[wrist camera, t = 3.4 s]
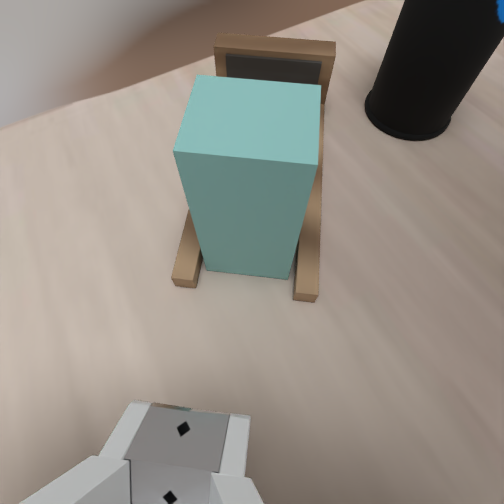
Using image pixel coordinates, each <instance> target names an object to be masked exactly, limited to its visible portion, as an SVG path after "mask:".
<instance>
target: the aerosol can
mask: <svg viewBox="0 0 504 504" xmlns="http://www.w3.org/2000/svg"><path fill="white" fill-rule="evenodd" d="M503 37H504V0H405V1H404V4H403V7H402V10H401V12H400V15H399V18H398V20H397V23H396V26H395V29H394V31H393V34H392V37H391V40H390V42H389V45H388V48H387V50H386V53H385V56H384V59H383V61H382V64H381V67H380V69H379V72H378V75H377V78H376V80H375V83H374V86H373V89H372V90H371V91H370V92H369V94H368V95H367V97H366V100H365V109H366V113H367V115H368V117H369V119H370V120H371V121H372V122H373V123H374V124H375V125H376V126H377V127H378V128H379V129H381V130H382V131H384V132H386V133H388V134H390V135H392V136H395V137H398V138H402V139H407V140H425V139H430V138H433V137H436V136H438V135H439V134H441V133H442V132H444V131H445V129H446V128H447V127H448V125H449V123H450V121H451V116H452V114H453V113H454V111H455V110H456V108H457V107H458V105H459V104H460V102H461V101H462V99H463V98H464V96H465V95H466V93H467V92H468V90H469V89H470V87H471V85H472V84H473V82H474V81H475V79H476V78H477V76H478V75H479V73H480V72H481V70H482V69H483V67H484V66H485V64H486V63H487V61H488V60H489V58H490V57H491V55H492V54H493V52H494V51H495V49H496V47H497V46H498V44H499V43H500V41H501V40H502V38H503Z"/></svg>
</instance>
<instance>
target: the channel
mask: <svg viewBox="0 0 504 504" xmlns="http://www.w3.org/2000/svg"><path fill="white" fill-rule="evenodd" d="M214 55H215V66H216V76H217V77H229V78H241V79H253V80H265V81H276V82H288V83H300V84H312V85H321V101H320V127H319V152H318V167H317V171H316V174H315V178H314V182H313V186H312V189H311V193H310V197H309V201H308V205H307V208H306V212H305V216H304V220H303V224H302V227H301V231H300V235H299V239H298V242H297V251H296V266H295V281H294V295H293V300H298V301H306V302H315V300H316V299H317V297H318V290H319V258H320V226H321V194H322V162H323V130H324V104H325V99H326V95H327V91H328V86H329V82H330V78H331V74H332V69H333V65H334V61H335V56H336V42H331V41H319V40H306V39H293V38H280V37H267V36H254V35H241V34H227V33H218V34H217V37H216V40H215V44H214ZM202 258H203V255H202V252H201V248H200V245H199V241H198V238H197V234H196V231H195V227H194V224H193V220H192V217H191V213H190V210H188V214H187V218H186V222H185V226H184V230H183V234H182V238H181V241H180V245H179V249H178V253H177V257H176V261H175V265H174V269H173V272H172V276H171V278H172V280H173V282H174V284H175V286H180V287H189V288H196V286H197V281H198V277H199V272H200V268H201V263H202Z"/></svg>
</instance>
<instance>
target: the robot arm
mask: <svg viewBox="0 0 504 504" xmlns="http://www.w3.org/2000/svg"><path fill="white" fill-rule="evenodd" d="M250 421H251V417H250V415H243V414H235V413H231V414H230V413H225V412H217V411H209V410H201V409H193V408H192V409H191V408H185V407H179V406H173V405H166V404H160V403H151V402H145V401H139V400H133V401H132V402H131V403H130V404H129V405H128V407H127V408H126V410H125V412H124V413H123V415H122V417H121V418H120V420H119V422H118V423H117V425H116V427H115V428H114V430H113V432H112V433H111V435H110V437H109V438H108V440H107V442H106V443H105V445H104V447H103V448H102V450H101V452H100V453H99V455H98V456H94V455H91V456H90V457H88V458H87V459H85V460H84V461H82V462H81V463H79V464H78V465H76V466H75V467H73V468H72V469H70V470H69V471H67V472H66V473H64V474H63V475H61V476H60V477H58V478H57V479H55V480H54V481H52V482H51V483H49V484H48V485H46V486H45V487H43V488H42V489H40V490H38V491H37V492H35V493H34V494H32V495H31V496H29V497H28V498H26V499H25V500H23V501H22V502H20V503H19V504H264V502H263V500H262V498H261V496H260V494H259V493H258V491H257V489H256V487H255V485H254V483H253V481H252V479H251V478H247V477H245V469H246V459H247V450H248V440H249V431H250Z"/></svg>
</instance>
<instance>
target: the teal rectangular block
mask: <svg viewBox="0 0 504 504" xmlns="http://www.w3.org/2000/svg"><path fill="white" fill-rule="evenodd" d="M320 101H321V85H312V84H300V83H288V82H276V81H265V80H253V79H241V78H229V77H217V76H206V75H197V76H196V79H195V83H194V86H193V89H192V92H191V95H190V98H189V101H188V105H187V108H186V111H185V114H184V117H183V120H182V124H181V127H180V130H179V133H178V136H177V139H176V142H175V146H174V149H173V153H174V157H175V160H176V164H177V167H178V171H179V174H180V178H181V181H182V185H183V188H184V192H185V195H186V199H187V202H188V206H189V210H190V213H191V217H192V220H193V224H194V227H195V231H196V234H197V238H198V241H199V245H200V248H201V252H202V255H203V259H204V262H205V266H206V269H207V270H209V271H217V272H226V273H234V274H243V275H252V276H260V277H269V278H278V279H286V280H288V277H289V273H290V269H291V265H292V261H293V258H294V254H295V250H296V246H297V242H298V239H299V235H300V231H301V227H302V224H303V220H304V216H305V212H306V208H307V205H308V201H309V197H310V193H311V189H312V186H313V182H314V178H315V174H316V171H317V167H318V152H319V127H320Z"/></svg>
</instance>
